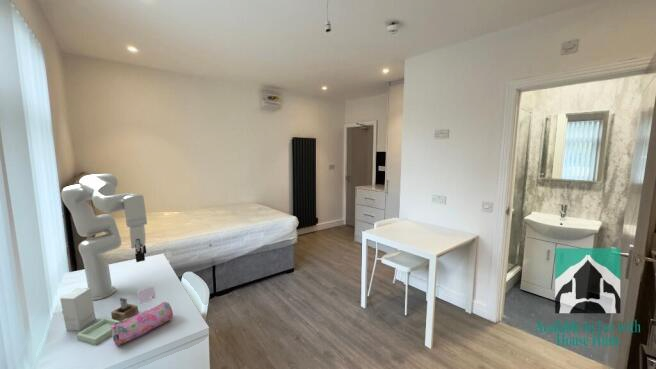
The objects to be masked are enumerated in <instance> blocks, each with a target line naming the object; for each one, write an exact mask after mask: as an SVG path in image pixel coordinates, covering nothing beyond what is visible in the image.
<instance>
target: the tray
mask: <svg viewBox="0 0 656 369" xmlns="http://www.w3.org/2000/svg"><path fill="white" fill-rule="evenodd" d="M116 322H119V321H118V320H113V319H112V318H108V317H104V318H103V319H101V320H98V321H97V322H95V323H94V324H92V325H90V326H88V327H86V328H84V329H82V331H81V330H80V331H79V332H78V333H76V340H77V341H79V342H83V343H88V344H91V345H94V346H97V345H98V344H100V343H102V342H103V341H105V340H106V339H108V338H109V337H112V329H113V328H112V329H111V328H110V327H109V326H111V325H113V324H115V323H116Z"/></svg>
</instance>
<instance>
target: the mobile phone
mask: <svg viewBox="0 0 656 369" xmlns="http://www.w3.org/2000/svg"><path fill="white" fill-rule="evenodd" d="M137 299H138V300H137V302H138V304H144V303H147V302H151V301H153V300H157V295H156V291H155V287H154V286H151V287H148V288H144V289H140V290H138V291H137Z"/></svg>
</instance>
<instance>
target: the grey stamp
mask: <svg viewBox="0 0 656 369" xmlns="http://www.w3.org/2000/svg"><path fill="white" fill-rule="evenodd" d="M127 299H128V298H124V297H121V298H120V299H119V301H120V307H121V309H122V313H123V312H125V311H127V310H128V308H127V304H128V300H127Z"/></svg>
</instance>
